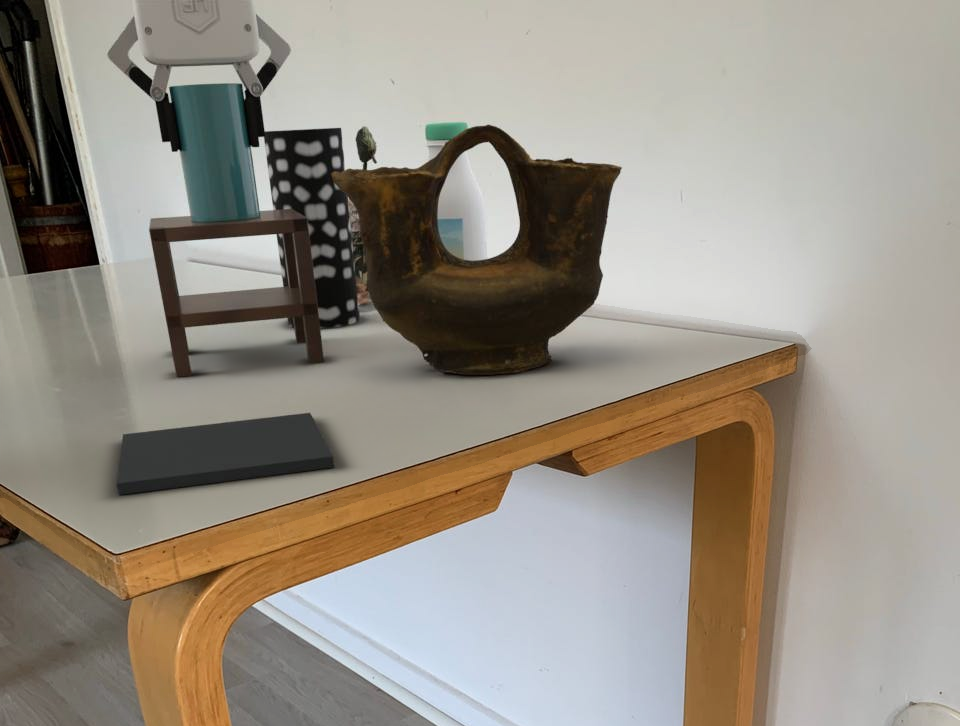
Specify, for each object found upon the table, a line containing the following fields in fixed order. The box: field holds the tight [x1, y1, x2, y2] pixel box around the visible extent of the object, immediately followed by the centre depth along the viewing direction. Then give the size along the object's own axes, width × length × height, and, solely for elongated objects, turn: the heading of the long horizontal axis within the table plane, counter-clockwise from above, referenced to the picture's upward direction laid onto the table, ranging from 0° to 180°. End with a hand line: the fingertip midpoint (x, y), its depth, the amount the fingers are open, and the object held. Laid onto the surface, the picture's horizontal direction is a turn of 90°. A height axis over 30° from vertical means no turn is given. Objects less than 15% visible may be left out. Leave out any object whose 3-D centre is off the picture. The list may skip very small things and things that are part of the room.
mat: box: [116, 412, 335, 496], centre depth 70 cm, size 14×12×1 cm
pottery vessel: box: [331, 124, 623, 376], centre depth 87 cm, size 25×11×20 cm, turn 101°
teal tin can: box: [168, 82, 261, 222], centre depth 92 cm, size 6×9×11 cm
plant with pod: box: [348, 125, 378, 308], centre depth 120 cm, size 8×11×20 cm
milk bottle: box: [424, 121, 488, 261], centre depth 110 cm, size 8×8×20 cm
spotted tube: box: [263, 127, 361, 330], centre depth 111 cm, size 8×8×20 cm
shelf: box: [148, 209, 325, 378], centre depth 97 cm, size 14×12×13 cm
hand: (215, 147), depth 90 cm, fingers closed on teal tin can, 6 cm apart
